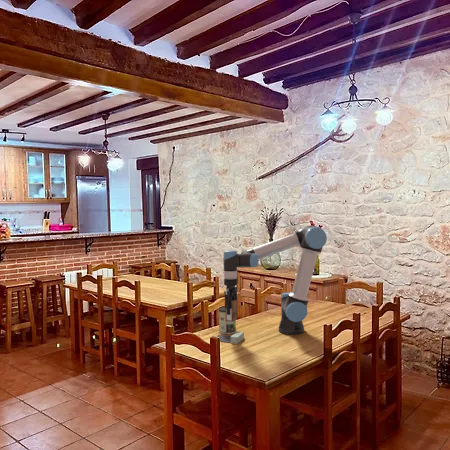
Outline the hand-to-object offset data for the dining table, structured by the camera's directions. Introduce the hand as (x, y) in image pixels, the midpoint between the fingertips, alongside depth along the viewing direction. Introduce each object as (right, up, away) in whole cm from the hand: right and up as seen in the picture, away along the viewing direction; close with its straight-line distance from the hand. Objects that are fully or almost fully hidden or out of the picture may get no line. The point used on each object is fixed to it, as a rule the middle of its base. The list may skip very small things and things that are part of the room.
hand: (231, 318), depth 245 cm
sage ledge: (+3, -12, -1) cm, 13 cm away
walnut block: (0, -1, 0) cm, 1 cm away
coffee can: (-2, -11, +17) cm, 20 cm away
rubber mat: (-4, -12, +3) cm, 13 cm away
